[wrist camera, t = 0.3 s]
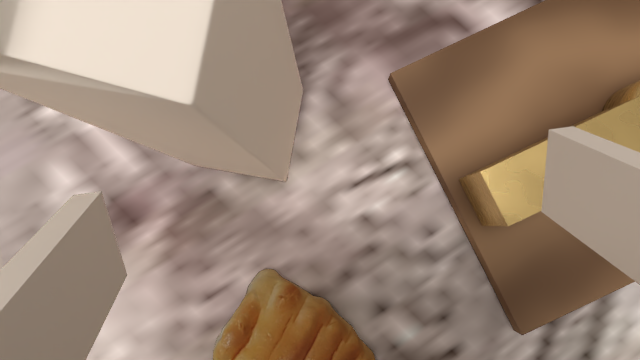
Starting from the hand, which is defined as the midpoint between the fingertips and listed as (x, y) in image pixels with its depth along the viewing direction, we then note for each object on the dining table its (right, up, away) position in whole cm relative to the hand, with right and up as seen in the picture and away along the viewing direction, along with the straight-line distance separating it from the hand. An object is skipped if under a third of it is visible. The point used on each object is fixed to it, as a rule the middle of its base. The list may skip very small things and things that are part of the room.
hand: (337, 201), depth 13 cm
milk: (-5, +4, +16) cm, 17 cm away
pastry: (-2, -9, +14) cm, 17 cm away
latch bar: (+14, +2, +13) cm, 19 cm away
